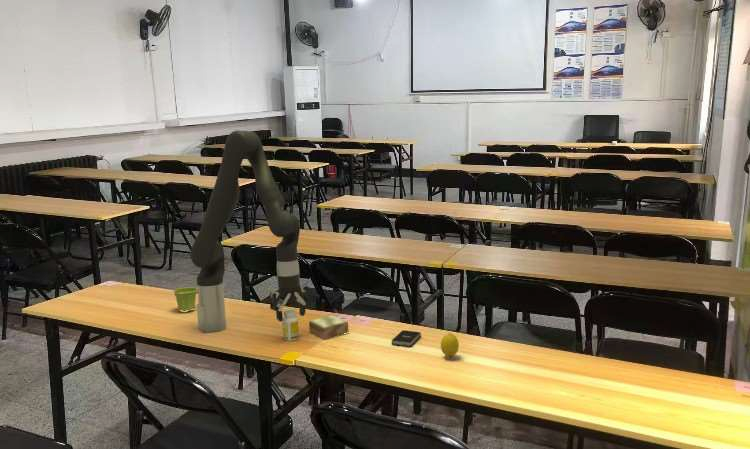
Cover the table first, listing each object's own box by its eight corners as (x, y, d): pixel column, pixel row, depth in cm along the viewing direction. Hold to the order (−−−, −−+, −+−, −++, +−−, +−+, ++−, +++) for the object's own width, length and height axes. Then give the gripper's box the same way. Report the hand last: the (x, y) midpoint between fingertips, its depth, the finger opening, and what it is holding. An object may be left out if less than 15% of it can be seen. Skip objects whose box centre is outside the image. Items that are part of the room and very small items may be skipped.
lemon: (460, 355, 189) (460, 330, 188) (456, 361, 184) (456, 336, 183) (443, 353, 191) (442, 329, 190) (439, 359, 186) (438, 335, 185)
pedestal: (324, 339, 206) (323, 327, 205) (309, 332, 214) (309, 320, 213) (348, 333, 212) (347, 321, 211) (333, 326, 220) (332, 314, 219)
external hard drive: (391, 346, 199) (390, 340, 199) (402, 335, 209) (402, 329, 209) (410, 349, 197) (410, 343, 196) (421, 337, 207) (421, 332, 206)
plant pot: (177, 307, 247) (175, 287, 245) (201, 306, 248) (199, 286, 246) (172, 315, 238) (170, 293, 236) (196, 313, 239) (195, 292, 237)
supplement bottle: (300, 335, 211) (299, 308, 209) (297, 341, 205) (295, 313, 204) (285, 335, 211) (284, 308, 209) (281, 341, 206) (280, 313, 204)
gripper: (300, 267, 212) (303, 311, 214) (264, 274, 203) (267, 320, 206) (311, 270, 206) (314, 316, 208) (274, 278, 197) (278, 325, 200)
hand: (291, 318), depth 207 cm, fingers open, 8 cm apart
